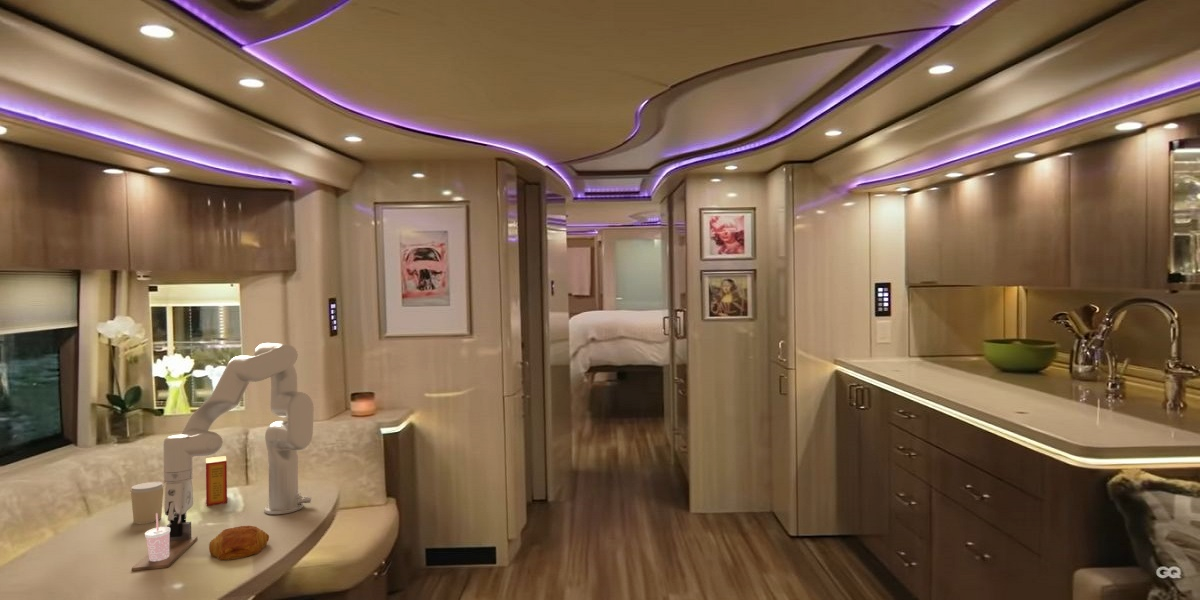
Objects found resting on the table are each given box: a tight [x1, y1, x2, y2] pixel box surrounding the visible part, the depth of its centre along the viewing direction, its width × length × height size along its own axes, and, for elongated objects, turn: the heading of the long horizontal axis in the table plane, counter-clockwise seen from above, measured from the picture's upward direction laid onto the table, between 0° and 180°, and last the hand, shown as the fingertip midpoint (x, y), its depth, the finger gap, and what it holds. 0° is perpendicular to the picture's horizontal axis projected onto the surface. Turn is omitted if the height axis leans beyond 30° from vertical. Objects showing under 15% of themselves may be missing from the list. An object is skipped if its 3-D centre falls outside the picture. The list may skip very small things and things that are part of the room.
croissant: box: [208, 525, 270, 561], centre depth 193 cm, size 14×16×8 cm
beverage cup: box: [144, 514, 171, 561], centre depth 186 cm, size 6×6×14 cm
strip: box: [131, 521, 198, 572], centre depth 191 cm, size 9×22×6 cm, turn 14°
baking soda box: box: [205, 455, 228, 507], centre depth 241 cm, size 10×6×16 cm
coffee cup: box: [130, 481, 165, 525], centre depth 221 cm, size 9×9×12 cm
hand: (178, 534), depth 200 cm, fingers closed
